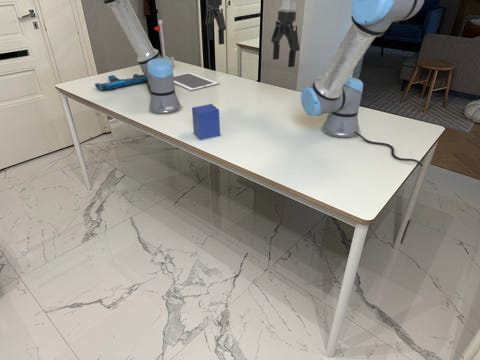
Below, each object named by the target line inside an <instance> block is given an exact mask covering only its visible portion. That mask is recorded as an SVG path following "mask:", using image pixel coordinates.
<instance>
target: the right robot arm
mask: <svg viewBox="0 0 480 360" xmlns="http://www.w3.org/2000/svg"><path fill="white" fill-rule="evenodd" d="M424 3H425V0H351V5H352V7H351V8H350V11H351V16H350V20H351V23H352V24H351V26H350V27H349V29H348V31H347V32H346V34H345V36H344V37H343V39H342V40H341V43H340V44H339V46H338V48H337V50H336V51H335V53H334V55H333V57H332V58H331V60H330V61H329V64H328V65H327V66H326V68H325V71H324V72H323V74H321V75H318V76H317V77H316V78H315V79H314V81H313V83H312V84H311V86H306V87H304V88H303V89H302V90H301V93H300V102H301V103H300V104H301V106H302V109H303V111H304V112H305V113H306V114H307V115H308V116H309V117H319V116H322V115H326V114H328V115H327V117H326V120H325V121H324V123H323V126H322V130H323V132H324V133H325V134H326V135H329V136H332V137H335V138H339V139H341V138H342V139H349V138H354V137H356V136H358V137H360V138H361V139H362V140H364V141H365V142H367V143H369V144H373V145H381V146H387V147H388V148H390V149H391V155H392V157H393V158H394V159H396V160H399V161H405V162H406V161H407V162H408V161H409V162H415V163H416V164H418V165H419V166H420V167H424V164H422V162H421V161H420V160H418V159H415V158H403V157H399V156H397V155H395V154H396V153H395V149H394V147H393V145H391V144H390V143H385V142H380V141H379V142H378V141H373V140H369V139H367V138H365V137H364V136H363V135H362V134H360V133H359V132H360V125H359V118H358V117H359V116H358V114H359V111H360V110H359V109H360V105H361V101H362V96H363V92H364V91H363V89H364V82H363V81H362V80H361V79H359V78H355V77H353V76H351V74H352V73H353V72H354V70H355V69H356V67H357V66H358V64H359V63H360V62H361V60H362V58H363V57H364V55H365V54H366V52H367V51H368V50H369V48H370V46H371V45H372V43H373V42H374V41H375V39H376V38H377V37H378V38H379V37H381V36H383V35H384V34H385V33H386V32H387V30H388V28H389V27H390V26H391V24H392V23H393V22H401V21H407V20H408V19H411V18H412V17H414V16H415V15H417V14H418V13H419V11H420V10H421V9H422V7H423V5H424ZM277 4H278V7H277V8H278V9H277V10H278V12H277V20H276V21H275V25H274V29H273V32H272V36H271V40H270V41H271V43H272V44H273V50H272V60H273V61H275V60H279V59H280V48H281V40H282V38H283V36H284V37H285V38H286V40H287V43H288V47H289V51H288V63H287V68H294V67H295V64H296V57H297V56H296V55H297V54H296V53H297V52H299V51H300V41H299V36H298V25H294V22H296V19H297V18H296V17H297V12H296V11H297V9H298V8H297V7H298V0H278V3H277ZM410 223H411V219H408V220H407V223H406V225H405V227H404V231H403V233H402V236H401V240H400V244H402V245H403V242H404V239H405V236H406V233H407V231H408V228H409V225H410Z"/></svg>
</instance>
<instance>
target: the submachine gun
mask: <svg viewBox="0 0 480 360" xmlns="http://www.w3.org/2000/svg"><path fill="white" fill-rule="evenodd" d="M107 77H108V80H109V82H103V83H100V82H96V83H94V86H95V88H97V89H98V90H100V91H107V90H113V91H114V90H115V89H116V88H120V87H125V86H129V85H134V84H138V83H139V84H140V83H147V82H146V81H149V80H148V78H147V77H146V76H145V75H144V74H138V73H134V74H133V75H132V77H129V78H121V79H120V78H118V77H117V76H116V75H113V74H112V75H108V76H107Z"/></svg>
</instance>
